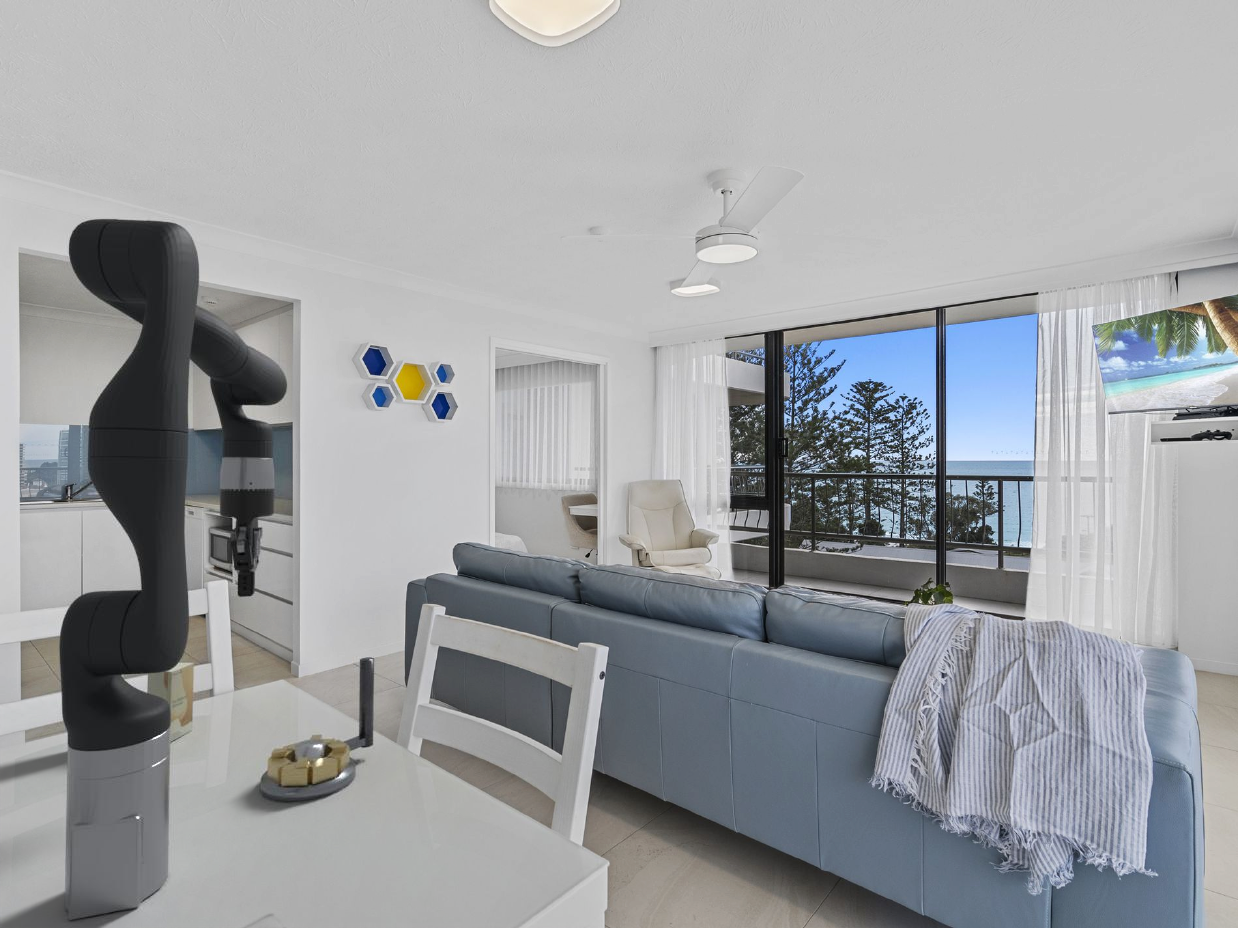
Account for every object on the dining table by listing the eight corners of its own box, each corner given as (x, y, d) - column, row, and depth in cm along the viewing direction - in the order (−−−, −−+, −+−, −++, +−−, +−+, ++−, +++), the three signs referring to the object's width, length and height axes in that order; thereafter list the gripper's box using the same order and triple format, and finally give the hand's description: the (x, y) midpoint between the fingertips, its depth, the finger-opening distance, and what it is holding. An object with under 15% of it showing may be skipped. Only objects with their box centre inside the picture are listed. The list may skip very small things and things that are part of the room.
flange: (355, 793, 96) (355, 755, 96) (254, 809, 92) (254, 769, 92) (355, 757, 109) (356, 723, 109) (266, 769, 104) (267, 734, 104)
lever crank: (287, 792, 93) (288, 691, 93) (258, 769, 100) (259, 675, 100) (394, 756, 105) (395, 666, 105) (361, 738, 112) (362, 653, 112)
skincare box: (169, 743, 113) (170, 672, 113) (144, 743, 113) (145, 671, 114) (194, 729, 120) (195, 661, 120) (170, 729, 120) (171, 661, 120)
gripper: (268, 487, 101) (267, 601, 100) (278, 485, 113) (277, 587, 113) (211, 487, 98) (210, 605, 98) (228, 485, 110) (226, 590, 110)
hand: (246, 595), depth 105 cm, fingers closed
